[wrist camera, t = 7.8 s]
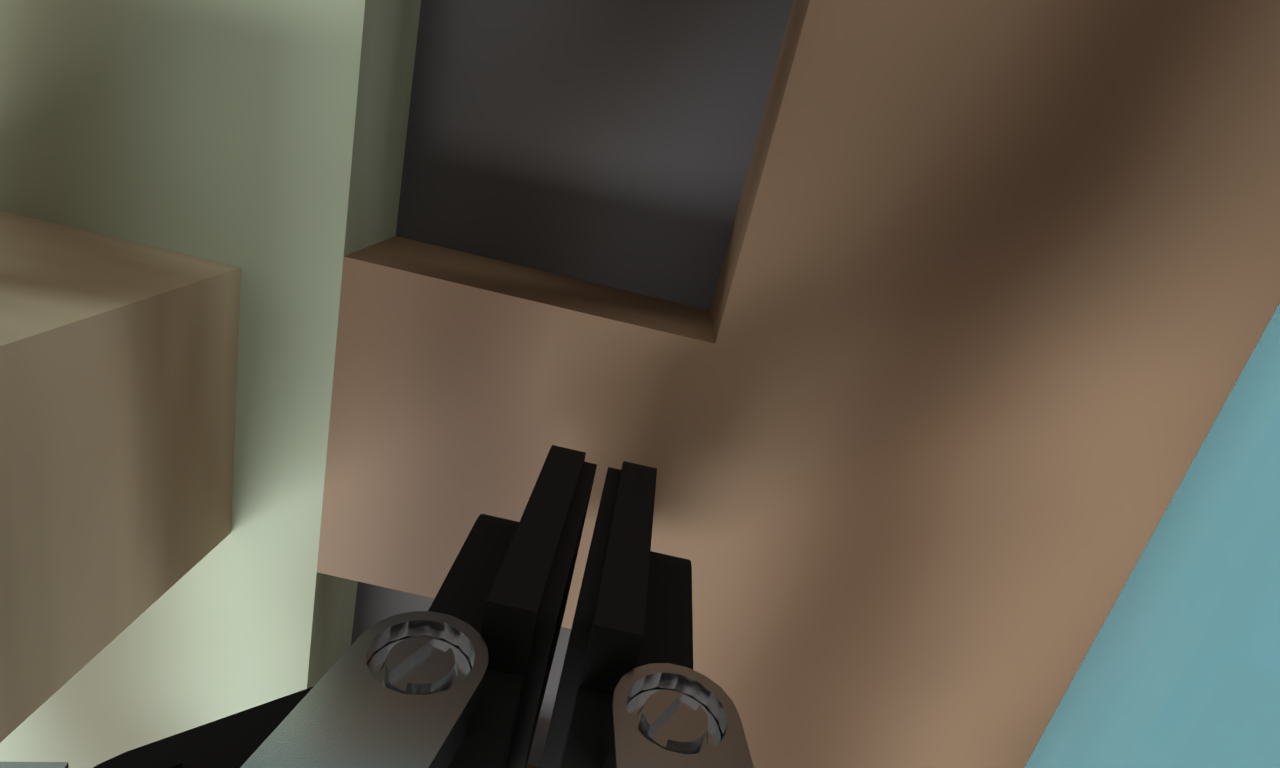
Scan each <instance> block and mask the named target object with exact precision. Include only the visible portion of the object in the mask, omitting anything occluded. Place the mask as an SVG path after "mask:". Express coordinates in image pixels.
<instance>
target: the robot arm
mask: <svg viewBox="0 0 1280 768" xmlns="http://www.w3.org/2000/svg"><path fill="white" fill-rule="evenodd" d="M585 456H586V452H582V451H577V450H573V449H568V448H564V447H559V446H555V445H552V446H551V448H550V450H549V453H548V455H547V458H546V460H545V462H544V465H543V467H542V470H541V472H540V474H539V477H538V479H537V481H536V484H535V486H534V489H533V491H532V493H531V496H530V498H529V501H528V503H527V505H526V508H525V510H524V512H523V515H522V517H521V520H520V522H517V521H513V520H509V519H504V518H500V517H495V516H491V515H486V514H480V515H479V517H478V518H477V520H476V522H475V524H474V525H473V527H472V529H471V531H470V533H469V535H468V537H467V539H466V541H465V542H464V544H463V546H462V548H461V550H460V552H459V554H458V556H457V557H456V559H455V561H454V563H453V565H452V567H451V569H450V571H449V572H448V574H447V576H446V578H445V580H444V582H443V584H442V586H441V588H440V589H439V591H438V593H437V595H436V597H435V599H434V601H433V603H432V604H431V606H430V608H429V610H428V611H411V612H406V613H401V614H396V615H392V616H390V617H388V618H385V619H383V620H381V621H379V622H376V623H375V624H373V625H372V626H371V627H370V628H368V629H367V630H366V631H365V632H364V633H362V634H361V635H360V636H359V637H358V638H357V640H356V641H355V642H354V643H353V644H352V645H351V646H350V647H349V648H348V649H347V651H346V652H345V653H344V654H343V655H342V656H341V657H340V658H339V659H338V661H337V662H336V663H335V664H334V665H333V666H332V667H331V668H330V669H329V670H328V672H327V673H326V674H325V675H324V676H323V677H322V678H321V679H320V680H319V681H318V683H317V684H316V685H315V686H313V687H310V688H307V689H305V690H302V691H299V692H296V693H293V694H290V695H287V696H285V697H282V698H279V699H276V700H273V701H270V702H267V703H264V704H262V705H259V706H256V707H253V708H250V709H247V710H244V711H242V712H239V713H236V714H233V715H230V716H227V717H224V718H221V719H219V720H216V721H213V722H210V723H207V724H204V725H201V726H199V727H196V728H193V729H190V730H187V731H184V732H181V733H178V734H176V735H173V736H170V737H167V738H164V739H161V740H158V741H156V742H153V743H150V744H147V745H144V746H141V747H138V748H135V749H133V750H130V751H127V752H124V753H122V754H120V755H118V756H116V757H113V758H111V759H109V760H107V761H105V762H102V763H100V764H98V765H96V766H95V767H93V768H526V767H527V763H528V759H529V755H530V751H531V747H532V743H533V739H534V735H535V731H536V727H537V723H538V719H539V715H540V711H541V707H542V703H543V699H544V695H545V690H546V686H547V682H548V678H549V674H550V670H551V666H552V662H553V658H554V654H555V650H556V646H557V642H558V638H559V634H560V630H561V626H562V622H563V617H564V613H565V609H566V604H567V600H568V595H569V590H570V586H571V581H572V577H573V572H574V568H575V563H576V559H577V554H578V550H579V545H580V541H581V536H582V532H583V527H584V522H585V518H586V513H587V509H588V504H589V500H590V495H591V491H592V486H593V482H594V477H595V473H596V468H597V464H593V463H589V462H584V461H585ZM656 477H657V468H653V467H648V466H644V465H640V464H635V463H631V462H626V461H623V464H622V468H621V470H620V469H615V468H611V467H608V469H607V474H606V478H605V483H604V487H603V491H602V496H601V500H600V505H599V509H598V514H597V518H596V522H595V527H594V531H593V536H592V540H591V544H590V549H589V553H588V558H587V562H586V567H585V571H584V575H583V580H582V584H581V589H580V593H579V597H578V602H577V606H576V611H575V615H574V619H573V624H572V628H571V633H570V637H569V642H568V646H567V650H566V655H565V659H564V664H563V668H562V673H561V677H560V681H559V686H558V690H557V695H556V699H555V703H554V708H553V712H552V717H551V721H550V726H549V730H548V734H547V739H546V743H545V748H544V752H543V756H542V761H541V765H540V768H754V766H753V762H752V759H751V755H750V751H749V748H748V744H747V740H746V737H745V733H744V729H743V726H742V722H741V718H740V716H739V714H738V711H737V709H736V707H735V705H734V703H733V701H732V700H731V698H730V697H729V696H728V695H727V694H726V693H725V691H724V690H723V689H722V688H721V687H720V686H719V685H717V684H716V683H715V682H713V681H712V680H711V679H709V678H708V677H707V676H705V675H703V674H701V673H699V672H696V671H694V670H693V615H692V565H691V561H690V560H688V559H684V558H679V557H675V556H670V555H666V554H661V553H657V552H652V551H651V539H652V527H653V514H654V502H655V489H656ZM0 768H69V765H68V762H0Z"/></svg>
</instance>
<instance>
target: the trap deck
mask: <svg viewBox="0 0 1280 768" xmlns="http://www.w3.org/2000/svg"><path fill="white" fill-rule="evenodd" d="M0 210H1V211H5V212H9V213H13V214H18V215H22V216H26V217H30V218H34V219H39V220H43V221H47V222H51V223H56V224H60V225H64V226H68V227H72V228H77V229H81V230H85V231H89V232H94V233H98V234H102V235H106V236H111V237H115V238H119V239H123V240H127V241H132V242H136V243H140V244H144V245H149V246H153V247H157V248H161V249H165V250H170V251H174V252H178V253H182V254H187V255H191V256H195V257H199V258H204V259H208V260H212V261H216V262H220V263H225V264H229V265H233V266H237V267H241V285H240V311H239V337H238V363H237V389H236V415H235V441H234V467H233V493H232V519H231V533H230V534H229V535H228V536H227V537H226V538H225V539H224V540H223V541H221V542H220V543H219V544H218V545H217V546H216V547H215V548H214V549H213V550H212V551H210V552H209V553H208V554H207V555H206V556H205V557H204V558H203V559H202V560H201V561H199V562H198V563H197V564H196V565H195V566H194V567H193V568H192V569H191V570H190V571H188V572H187V573H186V574H185V575H184V576H183V577H182V578H181V579H180V580H179V581H177V582H176V583H175V584H174V585H173V586H172V587H171V588H170V589H169V590H168V591H166V592H165V593H164V594H163V595H162V596H161V597H160V598H159V599H158V600H157V601H156V602H154V603H153V604H152V605H151V606H150V607H149V608H148V609H147V610H146V611H145V612H143V613H142V614H141V615H140V616H139V617H138V618H137V619H136V620H135V621H134V622H132V623H131V624H130V625H129V626H128V627H127V628H126V629H125V630H124V631H123V632H121V633H120V634H119V635H118V636H117V637H116V638H115V639H114V640H113V641H112V642H110V643H109V644H108V645H107V646H106V647H105V648H104V649H103V650H102V651H101V652H99V653H98V654H97V655H96V656H95V657H94V658H93V659H92V660H91V661H90V662H88V663H87V664H86V665H85V666H84V667H83V668H82V669H81V670H80V671H79V672H77V673H76V674H75V675H74V676H73V677H72V678H71V679H70V680H69V681H68V682H67V683H65V684H64V685H63V686H62V687H61V688H60V689H59V690H58V691H57V692H56V693H54V694H53V695H52V696H51V697H50V698H49V699H48V700H47V701H46V702H45V703H43V704H42V705H41V706H40V707H39V708H38V709H37V710H36V711H35V712H34V713H32V714H31V715H30V716H29V717H28V718H27V719H26V720H25V721H24V722H23V723H21V724H20V725H19V726H18V727H17V728H16V729H15V730H14V731H13V732H12V733H10V734H9V735H8V736H7V737H6V738H5V739H4V740H3V741H2V742H1V743H0V762H68V765H69V768H93V767H95V766H96V765H98V764H100V763H102V762H105V761H107V760H109V759H111V758H113V757H116V756H118V755H120V754H122V753H124V752H127V751H130V750H133V749H135V748H138V747H141V746H144V745H147V744H150V743H153V742H156V741H158V740H161V739H164V738H167V737H170V736H173V735H176V734H178V733H181V732H184V731H187V730H190V729H193V728H196V727H199V726H201V725H204V724H207V723H210V722H213V721H216V720H219V719H221V718H224V717H227V716H230V715H233V714H236V713H239V712H242V711H244V710H247V709H250V708H253V707H256V706H259V705H262V704H264V703H267V702H270V701H273V700H276V699H279V698H282V697H285V696H287V695H290V694H293V693H296V692H299V691H302V690H305V689H307V688H310V687H313V686H315V685H316V684H317V683H318V681H319V680H320V679H321V678H322V677H323V676H324V675H325V674H326V673H327V672H328V670H329V669H330V668H331V667H332V666H333V665H334V664H335V663H336V662H337V661H338V659H339V658H340V657H341V656H342V655H343V654H344V653H345V652H346V651H347V649H348V648H349V647H350V646H351V645H352V644H353V643H354V642H355V641H356V640H357V638H358V637H359V636H360V635H361V634H362V633H364V632H365V631H366V630H367V629H368V628H370V627H371V626H372V625H373V624H375V623H376V622H379V621H381V620H383V619H385V618H388V617H390V616H392V615H396V614H401V613H406V612H411V611H428V610H429V608H430V606H431V604H432V603H433V601H434V599H435V597H436V595H437V593H438V591H439V589H440V588H441V586H442V584H443V582H444V580H445V578H446V576H447V574H448V572H449V571H450V569H451V567H452V565H453V563H454V561H455V559H456V557H457V556H458V554H459V552H460V550H461V548H462V546H463V544H464V542H465V541H466V539H467V537H468V535H469V533H470V531H471V529H472V527H473V525H474V524H475V522H476V520H477V518H478V517H479V515H480V514H486V515H491V516H495V517H500V518H504V519H509V520H513V521H517V522H520V520H521V517H522V515H523V512H524V510H525V508H526V505H527V503H528V501H529V498H530V496H531V493H532V491H533V489H534V486H535V484H536V481H537V479H538V477H539V474H540V472H541V470H542V467H543V465H544V462H545V460H546V458H547V455H548V453H549V450H550V448H551V446H552V445H555V446H559V447H564V448H568V449H573V450H577V451H582V452H586V456H585V461H584V462H589V463H593V464H597V468H596V473H595V477H594V482H593V486H592V491H591V495H590V500H589V504H588V509H587V513H586V518H585V522H584V527H583V532H582V536H581V541H580V545H579V550H578V554H577V559H576V563H575V568H574V572H573V577H572V581H571V586H570V590H569V595H568V600H567V604H566V609H565V613H564V617H563V622H562V626H561V630H560V634H559V638H558V642H557V646H556V650H555V654H554V658H553V662H552V666H551V670H550V674H549V678H548V682H547V686H546V690H545V695H544V699H543V703H542V707H541V711H540V715H539V719H538V723H537V727H536V731H535V735H534V739H533V743H532V747H531V751H530V755H529V759H528V763H527V767H526V768H540V765H541V761H542V756H543V752H544V748H545V743H546V739H547V734H548V730H549V726H550V721H551V717H552V712H553V708H554V703H555V699H556V695H557V690H558V686H559V681H560V677H561V673H562V668H563V664H564V659H565V655H566V650H567V646H568V642H569V637H570V633H571V628H572V624H573V619H574V615H575V611H576V606H577V602H578V597H579V593H580V589H581V584H582V580H583V575H584V571H585V567H586V562H587V558H588V553H589V549H590V544H591V540H592V536H593V531H594V527H595V522H596V518H597V514H598V509H599V505H600V500H601V496H602V491H603V487H604V483H605V478H606V474H607V469H608V467H611V468H615V469H620V470H621V468H622V464H623V461H626V462H631V463H635V464H640V465H644V466H648V467H653V468H657V477H656V489H655V502H654V514H653V527H652V539H651V551H652V552H657V553H661V554H666V555H670V556H675V557H679V558H684V559H688V560H690V561H691V565H692V615H693V670H694V671H696V672H699V673H701V674H703V675H705V676H707V677H708V678H709V679H711V680H712V681H713V682H715V683H716V684H717V685H719V686H720V687H721V688H722V689H723V690H724V691H725V693H726V694H727V695H728V696H729V697H730V698H731V700H732V701H733V703H734V705H735V707H736V709H737V711H738V714H739V716H740V718H741V722H742V726H743V729H744V733H745V737H746V740H747V744H748V748H749V751H750V755H751V759H752V762H753V766H754V768H1024V767H1025V765H1026V763H1027V761H1028V760H1029V758H1030V756H1031V754H1032V752H1033V750H1034V749H1035V747H1036V745H1037V743H1038V741H1039V740H1040V738H1041V736H1042V734H1043V732H1044V730H1045V729H1046V727H1047V725H1048V723H1049V721H1050V720H1051V718H1052V716H1053V714H1054V712H1055V710H1056V709H1057V707H1058V705H1059V703H1060V701H1061V700H1062V698H1063V696H1064V694H1065V692H1066V690H1067V689H1068V687H1069V685H1070V683H1071V681H1072V680H1073V678H1074V676H1075V674H1076V672H1077V670H1078V669H1079V667H1080V665H1081V663H1082V661H1083V659H1084V658H1085V656H1086V654H1087V652H1088V650H1089V649H1090V647H1091V645H1092V643H1093V641H1094V639H1095V638H1096V636H1097V634H1098V632H1099V630H1100V629H1101V627H1102V625H1103V623H1104V621H1105V619H1106V618H1107V616H1108V614H1109V612H1110V610H1111V609H1112V607H1113V605H1114V603H1115V601H1116V599H1117V598H1118V596H1119V594H1120V592H1121V590H1122V589H1123V587H1124V585H1125V583H1126V581H1127V579H1128V578H1129V576H1130V574H1131V572H1132V570H1133V569H1134V567H1135V565H1136V563H1137V561H1138V559H1139V558H1140V556H1141V554H1142V552H1143V550H1144V549H1145V547H1146V545H1147V543H1148V541H1149V539H1150V538H1151V536H1152V534H1153V532H1154V530H1155V529H1156V527H1157V525H1158V523H1159V521H1160V519H1161V518H1162V516H1163V514H1164V512H1165V510H1166V509H1167V507H1168V505H1169V503H1170V501H1171V499H1172V498H1173V496H1174V494H1175V492H1176V490H1177V489H1178V487H1179V485H1180V483H1181V481H1182V479H1183V478H1184V476H1185V474H1186V472H1187V470H1188V469H1189V467H1190V465H1191V463H1192V461H1193V459H1194V458H1195V456H1196V454H1197V452H1198V450H1199V449H1200V447H1201V445H1202V443H1203V441H1204V439H1205V438H1206V436H1207V434H1208V432H1209V430H1210V429H1211V427H1212V425H1213V423H1214V421H1215V419H1216V418H1217V416H1218V414H1219V412H1220V410H1221V409H1222V407H1223V405H1224V403H1225V401H1226V399H1227V398H1228V396H1229V394H1230V392H1231V390H1232V389H1233V387H1234V385H1235V383H1236V381H1237V379H1238V378H1239V376H1240V374H1241V372H1242V370H1243V369H1244V367H1245V365H1246V363H1247V361H1248V359H1249V358H1250V356H1251V354H1252V352H1253V350H1254V349H1255V347H1256V345H1257V343H1258V341H1259V339H1260V338H1261V336H1262V334H1263V332H1264V330H1265V329H1266V327H1267V325H1268V323H1269V321H1270V319H1271V318H1272V316H1273V314H1274V312H1275V310H1276V308H1277V307H1278V305H1279V303H1280V0H0Z"/></svg>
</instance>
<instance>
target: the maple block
mask: <svg viewBox="0 0 1280 768" xmlns="http://www.w3.org/2000/svg"><path fill="white" fill-rule="evenodd" d="M240 285H241V267H237V266H233V265H229V264H225V263H220V262H216V261H212V260H208V259H204V258H199V257H195V256H191V255H187V254H182V253H178V252H174V251H170V250H165V249H161V248H157V247H153V246H149V245H144V244H140V243H136V242H132V241H127V240H123V239H119V238H115V237H111V236H106V235H102V234H98V233H94V232H89V231H85V230H81V229H77V228H72V227H68V226H64V225H60V224H56V223H51V222H47V221H43V220H39V219H34V218H30V217H26V216H22V215H18V214H13V213H9V212H5V211H1V210H0V743H1V742H2V741H3V740H4V739H5V738H6V737H7V736H8V735H9V734H10V733H12V732H13V731H14V730H15V729H16V728H17V727H18V726H19V725H20V724H21V723H23V722H24V721H25V720H26V719H27V718H28V717H29V716H30V715H31V714H32V713H34V712H35V711H36V710H37V709H38V708H39V707H40V706H41V705H42V704H43V703H45V702H46V701H47V700H48V699H49V698H50V697H51V696H52V695H53V694H54V693H56V692H57V691H58V690H59V689H60V688H61V687H62V686H63V685H64V684H65V683H67V682H68V681H69V680H70V679H71V678H72V677H73V676H74V675H75V674H76V673H77V672H79V671H80V670H81V669H82V668H83V667H84V666H85V665H86V664H87V663H88V662H90V661H91V660H92V659H93V658H94V657H95V656H96V655H97V654H98V653H99V652H101V651H102V650H103V649H104V648H105V647H106V646H107V645H108V644H109V643H110V642H112V641H113V640H114V639H115V638H116V637H117V636H118V635H119V634H120V633H121V632H123V631H124V630H125V629H126V628H127V627H128V626H129V625H130V624H131V623H132V622H134V621H135V620H136V619H137V618H138V617H139V616H140V615H141V614H142V613H143V612H145V611H146V610H147V609H148V608H149V607H150V606H151V605H152V604H153V603H154V602H156V601H157V600H158V599H159V598H160V597H161V596H162V595H163V594H164V593H165V592H166V591H168V590H169V589H170V588H171V587H172V586H173V585H174V584H175V583H176V582H177V581H179V580H180V579H181V578H182V577H183V576H184V575H185V574H186V573H187V572H188V571H190V570H191V569H192V568H193V567H194V566H195V565H196V564H197V563H198V562H199V561H201V560H202V559H203V558H204V557H205V556H206V555H207V554H208V553H209V552H210V551H212V550H213V549H214V548H215V547H216V546H217V545H218V544H219V543H220V542H221V541H223V540H224V539H225V538H226V537H227V536H228V535H229V534H230V533H231V519H232V493H233V467H234V441H235V415H236V389H237V363H238V337H239V311H240Z"/></svg>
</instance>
